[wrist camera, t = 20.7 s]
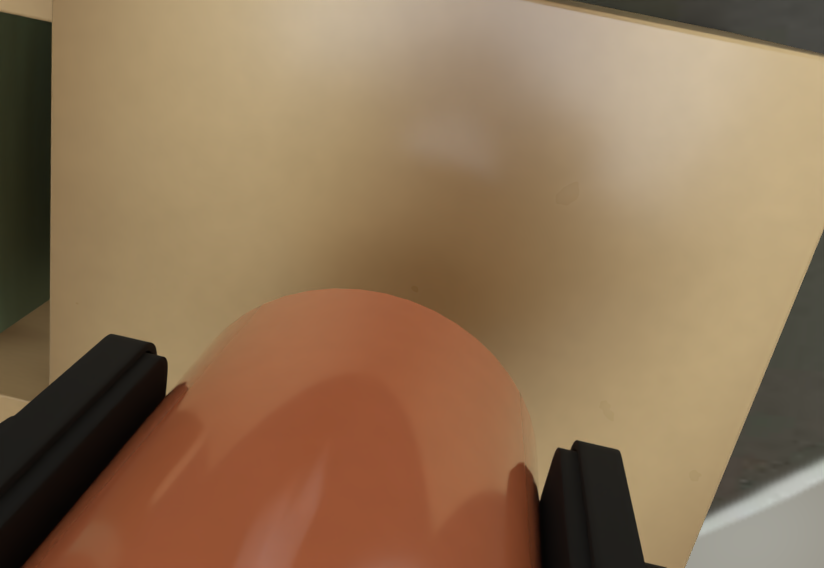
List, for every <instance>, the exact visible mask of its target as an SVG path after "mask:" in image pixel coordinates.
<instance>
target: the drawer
mask: <svg viewBox="0 0 824 568" xmlns="http://www.w3.org/2000/svg"><path fill="white" fill-rule="evenodd" d="M51 70H52V0H0V423H1V422H3V421H4V420H6V419H7V418H9V417H10V416H14V415H16V414H17V413H18V412H19V411H20V410H21V409H22V408H24V407H25V406H26V405H27V404H28V403H29V402H31V401H32V400H33V399H34V398H35V397H36V396H37V395H39V394H40V393H41V392H42V391H43V390H44V389H45V388H47V387H48V386H49V344H50V207H51Z"/></svg>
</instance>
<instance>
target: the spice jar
mask: <svg viewBox="0 0 824 568" xmlns="http://www.w3.org/2000/svg"><path fill="white" fill-rule="evenodd" d="M21 568H542V549H541V526H540V503H539V479H538V457H537V447H536V437H535V433H534V429H533V425H532V421H531V417H530V414H529V412H528V409H527V407H526V405H525V402H524V400H523V398H522V395H521V393H520V392H519V390H518V388H517V387H516V385H515V383H514V382H513V380H512V378H511V377H510V375H509V374H508V372H507V371H506V370H505V369H504V367H503V366H502V365H501V364H500V362H499V361H498V360H497V359H496V357H495V356H494V355H493V354H492V353H491V352H490V351H489V350H488V349H487V348H486V347H485V346H484V345H483V344H482V343H481V342H480V341H479V340H477V339H476V338H475V337H474V336H472V335H471V334H470V333H468V332H467V331H466V330H464V329H463V328H462V327H460V326H459V325H458V324H456V323H455V322H453V321H451V320H450V319H448V318H446V317H444V316H443V315H441V314H439V313H437V312H436V311H434V310H432V309H429V308H427V307H424V306H422V305H420V304H417V303H415V302H413V301H410V300H407V299H403V298H400V297H396V296H393V295H389V294H386V293H380V292H374V291H368V290H361V289H339V288H332V289H321V290H310V291H305V292H300V293H296V294H291V295H287V296H284V297H281V298H278V299H275V300H273V301H270V302H267V303H265V304H262V305H261V306H259V307H257V308H255V309H253V310H251V311H249V312H247V313H246V314H244V315H242V316H241V317H240V318H238V319H237V320H236V321H234V322H233V323H232V324H230V325H229V326H227V327H226V328H225V329H224V330H223V331H222V332H221V333H220V334H219V335H218V336H217V337H216V338H215V339H214V340H213V341H212V342H211V343H210V344H209V346H208V347H207V348H206V349H205V350H204V352H203V353H202V354H201V355H200V356H199V357H198V359H197V360H196V361H195V362H194V363H193V365H192V366H191V367H190V368H189V369H188V371H187V372H186V373H185V374H184V375H183V376H182V378H181V379H180V380H179V381H178V382H177V384H176V385H175V386H174V387H173V388H172V389H171V391H170V392H169V393H168V394H167V395H166V397H165V398H164V399H163V400H162V401H161V403H160V404H159V405H158V406H157V407H156V408H155V410H154V411H153V412H152V413H151V414H150V416H149V417H148V418H147V419H146V420H145V421H144V423H143V424H142V425H141V426H140V427H139V429H138V430H137V431H136V432H135V433H134V435H133V436H132V437H131V438H130V439H129V440H128V442H127V443H126V444H125V445H124V446H123V448H122V449H121V450H120V451H119V452H118V453H117V455H116V456H115V457H114V458H113V459H112V461H111V462H110V463H109V464H108V465H107V467H106V468H105V469H104V470H103V471H102V472H101V474H100V475H99V476H98V477H97V478H96V480H95V481H94V482H93V483H92V484H91V485H90V487H89V488H88V489H87V490H86V491H85V493H84V494H83V495H82V496H81V497H80V499H79V500H78V501H77V502H76V503H75V504H74V506H73V507H72V508H71V509H70V510H69V512H68V513H67V514H66V515H65V516H64V518H63V519H62V520H61V521H60V522H59V523H58V525H57V526H56V527H55V528H54V529H53V531H52V532H51V533H50V534H49V535H48V536H47V538H46V539H45V540H44V541H43V542H42V544H41V545H40V546H39V547H38V548H37V550H36V551H35V552H34V553H33V554H32V555H31V557H30V558H29V559H28V560H27V561H26V563H25V564H24V565H23V566H22V567H21Z"/></svg>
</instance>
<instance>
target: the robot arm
mask: <svg viewBox="0 0 824 568" xmlns="http://www.w3.org/2000/svg"><path fill="white" fill-rule="evenodd" d="M167 374H168V362H167V359H166V358H165V357H163V356H159V355H157V350H156V346H155V345H154V344H153V343H151V342H147V341H142V340H138V339H134V338H129V337H125V336H121V335H116V334H109V335H107V336H106V337H104V338H103V339H102V340H101V341H100V342H99V343H97V344H96V345H95V346H94V347H93V348H92V349H90V350H89V351H88V352H87V353H86V354H85V355H84V356H82V357H81V358H80V359H79V360H78V361H77V362H75V363H74V364H73V365H72V366H71V367H70V368H69V369H67V370H66V371H65V372H64V373H63V374H62V375H60V376H59V377H58V378H57V379H56V380H55V381H54V382H52V383H51V384H50V385H49V386H48V387H47V388H45V389H44V390H43V391H42V392H41V393H40V394H39V395H37V396H36V397H35V398H34V399H33V400H32V401H31V402H29V403H28V404H27V405H26V406H25V407H24V408H22V409H21V410H20V411H19V412H18V413H17V414H16V415H14V416H10V417H9V418H7V419H6V420H4V421H3V422H1V423H0V568H21V567H22V566H23V565H24V564H25V563H26V561H27V560H28V559H29V558H30V557H31V555H32V554H33V553H34V552H35V551H36V550H37V548H38V547H39V546H40V545H41V544H42V542H43V541H44V540H45V539H46V538H47V536H48V535H49V534H50V533H51V532H52V531H53V529H54V528H55V527H56V526H57V525H58V523H59V522H60V521H61V520H62V519H63V518H64V516H65V515H66V514H67V513H68V512H69V510H70V509H71V508H72V507H73V506H74V504H75V503H76V502H77V501H78V500H79V499H80V497H81V496H82V495H83V494H84V493H85V491H86V490H87V489H88V488H89V487H90V485H91V484H92V483H93V482H94V481H95V480H96V478H97V477H98V476H99V475H100V474H101V472H102V471H103V470H104V469H105V468H106V467H107V465H108V464H109V463H110V462H111V461H112V459H113V458H114V457H115V456H116V455H117V453H118V452H119V451H120V450H121V449H122V448H123V446H124V445H125V444H126V443H127V442H128V440H129V439H130V438H131V437H132V436H133V435H134V433H135V432H136V431H137V430H138V429H139V427H140V426H141V425H142V424H143V423H144V421H145V420H146V419H147V418H148V417H149V416H150V414H151V413H152V412H153V411H154V410H155V408H156V407H157V406H158V405H159V404H160V403H161V401H162V400H163V399H164V398H165V397H166V388H167ZM539 503H540V526H541V549H542V568H666V567H663V566H659V565H654V564H650V563H646V562H645V561H644V556H643V552H642V547H641V543H640V538H639V533H638V529H637V524H636V520H635V515H634V511H633V506H632V501H631V497H630V492H629V488H628V483H627V478H626V474H625V469H624V465H623V460H622V456H621V453H620V450H618V449H614V448H609V447H605V446H601V445H596V444H592V443H588V442H583V441H579V440H576V441H575V442H574V443H573V445H572V447H571V449H570V450H568V449H564V448H559V447H558V448H557V449H556V451H555V453H554V456H553V459H552V462H551V465H550V469H549V472H548V475H547V478H546V482H545V485H544V488H543V491H542V495H541V498H540V501H539Z"/></svg>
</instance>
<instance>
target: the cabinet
mask: <svg viewBox="0 0 824 568" xmlns="http://www.w3.org/2000/svg"><path fill="white" fill-rule="evenodd" d="M823 230H824V54H820V53H816V52H812V51H807V50H803V49H799V48H795V47H790V46H786V45H782V44H778V43H773V42H769V41H765V40H761V39H756V38H752V37H748V36H744V35H739V34H735V33H731V32H726V31H722V30H717V29H712V28H707V27H702V26H697V25H692V24H687V23H682V22H677V21H672V20H667V19H662V18H657V17H652V16H647V15H642V14H637V13H632V12H627V11H623V10H618V9H613V8H608V7H603V6H598V5H593V4H588V3H583V2H578V1H573V0H52V70H51V207H50V344H49V385H50V384H51V383H52V382H54V381H55V380H56V379H57V378H58V377H59V376H60V375H62V374H63V373H64V372H65V371H66V370H67V369H69V368H70V367H71V366H72V365H73V364H74V363H75V362H77V361H78V360H79V359H80V358H81V357H82V356H84V355H85V354H86V353H87V352H88V351H89V350H90V349H92V348H93V347H94V346H95V345H96V344H97V343H99V342H100V341H101V340H102V339H103V338H104V337H106V336H107V335H109V334H116V335H121V336H125V337H129V338H134V339H138V340H142V341H147V342H151V343H153V344H154V345H155V346H156V350H157V355H159V356H163V357H165V358H166V359H167V362H168V374H167V388H166V395H167V394H168V393H169V392H170V391H171V389H172V388H173V387H174V386H175V385H176V384H177V382H178V381H179V380H180V379H181V378H182V376H183V375H184V374H185V373H186V372H187V371H188V369H189V368H190V367H191V366H192V365H193V363H194V362H195V361H196V360H197V359H198V357H199V356H200V355H201V354H202V353H203V352H204V350H205V349H206V348H207V347H208V346H209V344H210V343H211V342H212V341H213V340H214V339H215V338H216V337H217V336H218V335H219V334H220V333H221V332H222V331H223V330H224V329H225V328H226V327H227V326H229V325H230V324H232V323H233V322H234V321H236V320H237V319H238V318H240V317H241V316H242V315H244V314H246V313H247V312H249V311H251V310H253V309H255V308H257V307H259V306H261V305H262V304H265V303H267V302H270V301H273V300H275V299H278V298H281V297H284V296H287V295H291V294H296V293H300V292H305V291H310V290H321V289H332V288H339V289H361V290H368V291H374V292H380V293H386V294H389V295H393V296H396V297H400V298H403V299H407V300H410V301H413V302H415V303H417V304H420V305H422V306H424V307H427V308H429V309H432V310H434V311H436V312H437V313H439V314H441V315H443V316H444V317H446V318H448V319H450V320H451V321H453V322H455V323H456V324H458V325H459V326H460V327H462V328H463V329H464V330H466V331H467V332H468V333H470V334H471V335H472V336H474V337H475V338H476V339H477V340H479V341H480V342H481V343H482V344H483V345H484V346H485V347H486V348H487V349H488V350H489V351H490V352H491V353H492V354H493V355H494V356H495V357H496V359H497V360H498V361H499V362H500V364H501V365H502V366H503V367H504V369H505V370H506V371H507V372H508V374H509V375H510V377H511V378H512V380H513V382H514V383H515V385H516V387H517V388H518V390H519V392H520V393H521V395H522V398H523V400H524V402H525V405H526V407H527V409H528V412H529V414H530V417H531V421H532V425H533V429H534V433H535V437H536V447H537V457H538V479H539V501H540V498H541V495H542V491H543V488H544V485H545V482H546V478H547V475H548V472H549V469H550V465H551V462H552V459H553V456H554V453H555V451H556V449H557V448H558V447H559V448H564V449H568V450H570V449H571V447H572V445H573V443H574V442H575V441H576V440H579V441H583V442H588V443H592V444H596V445H601V446H605V447H609V448H614V449H618V450H620V453H621V456H622V460H623V465H624V469H625V474H626V478H627V483H628V488H629V492H630V497H631V501H632V506H633V511H634V515H635V520H636V524H637V529H638V533H639V538H640V543H641V547H642V552H643V556H644V561H645V562H646V563H650V564H654V565H659V566H663V567H666V568H685V566H686V564H687V561H688V559H689V556H690V554H691V551H692V549H693V546H694V544H695V542H696V539H697V537H698V534H699V532H700V530H701V527H702V525H703V522H704V520H705V517H706V515H707V512H708V510H709V508H710V505H711V503H712V500H713V498H714V495H715V493H716V491H717V488H718V486H719V483H720V481H721V478H722V476H723V474H724V471H725V469H726V466H727V464H728V461H729V459H730V456H731V454H732V452H733V449H734V447H735V444H736V442H737V439H738V437H739V435H740V432H741V430H742V427H743V425H744V422H745V420H746V417H747V415H748V413H749V410H750V408H751V405H752V403H753V400H754V398H755V396H756V393H757V391H758V388H759V386H760V383H761V381H762V378H763V376H764V374H765V371H766V369H767V366H768V364H769V361H770V359H771V357H772V354H773V352H774V349H775V347H776V344H777V342H778V340H779V337H780V335H781V332H782V330H783V327H784V325H785V322H786V320H787V318H788V315H789V313H790V310H791V308H792V305H793V303H794V301H795V298H796V296H797V293H798V291H799V288H800V286H801V283H802V281H803V279H804V276H805V274H806V271H807V269H808V266H809V264H810V262H811V259H812V257H813V254H814V252H815V249H816V247H817V244H818V242H819V240H820V237H821V235H822V232H823Z"/></svg>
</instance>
